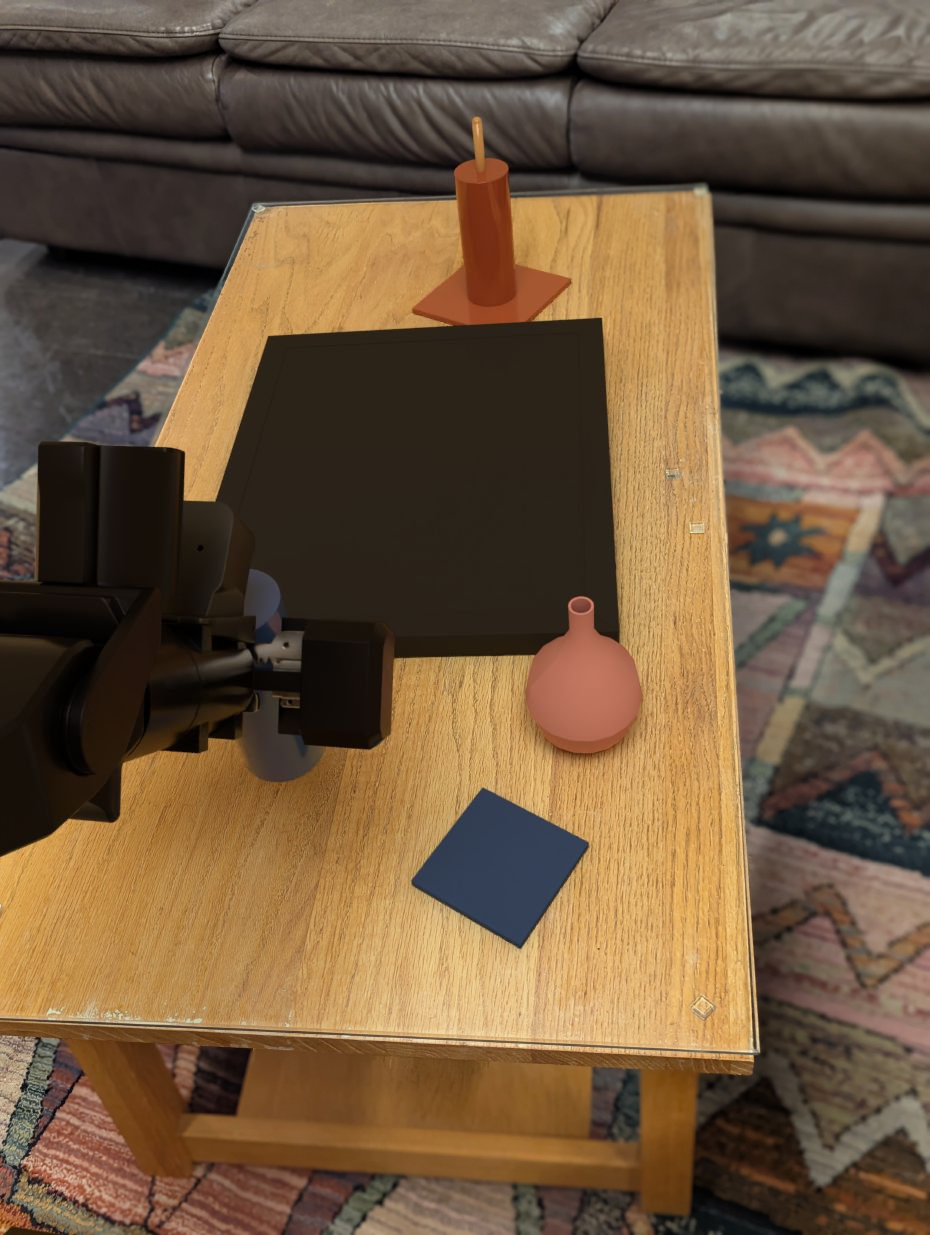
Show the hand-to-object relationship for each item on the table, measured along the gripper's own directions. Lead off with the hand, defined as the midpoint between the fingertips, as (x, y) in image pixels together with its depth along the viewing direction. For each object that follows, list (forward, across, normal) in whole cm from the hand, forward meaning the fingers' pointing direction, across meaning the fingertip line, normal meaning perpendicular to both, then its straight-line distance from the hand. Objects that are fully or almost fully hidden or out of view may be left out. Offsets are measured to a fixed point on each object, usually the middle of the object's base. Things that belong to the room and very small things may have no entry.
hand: (267, 661), depth 62 cm
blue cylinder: (+4, 0, +6) cm, 7 cm away
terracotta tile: (+53, -4, -34) cm, 63 cm away
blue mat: (+6, -13, +12) cm, 19 cm away
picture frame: (+32, -1, -13) cm, 35 cm away
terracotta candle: (+52, -4, -34) cm, 63 cm away
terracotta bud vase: (+14, -18, +5) cm, 23 cm away
